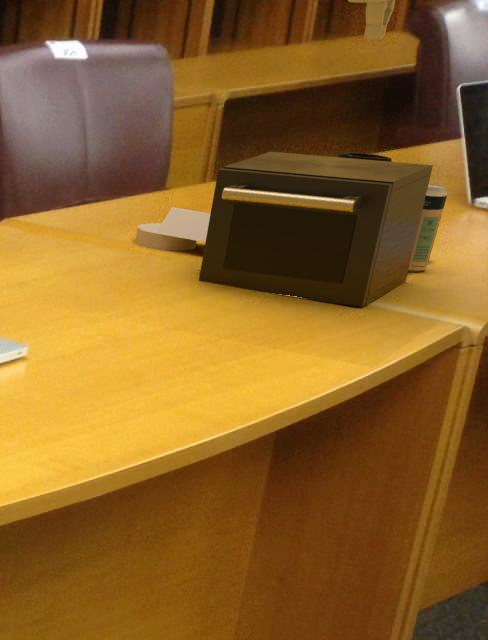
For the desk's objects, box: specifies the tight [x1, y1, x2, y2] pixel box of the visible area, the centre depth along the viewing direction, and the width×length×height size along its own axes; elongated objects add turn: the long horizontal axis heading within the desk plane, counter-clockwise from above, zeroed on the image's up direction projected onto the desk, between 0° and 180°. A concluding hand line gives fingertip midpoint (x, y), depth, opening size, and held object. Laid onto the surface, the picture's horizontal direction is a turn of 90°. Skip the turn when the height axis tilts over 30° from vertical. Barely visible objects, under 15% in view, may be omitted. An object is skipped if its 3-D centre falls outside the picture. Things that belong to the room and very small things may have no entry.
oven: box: [222, 151, 434, 307], centre depth 215 cm, size 20×22×16 cm
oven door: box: [198, 167, 393, 308], centre depth 206 cm, size 6×22×16 cm, turn 50°
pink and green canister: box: [408, 183, 448, 273], centre depth 223 cm, size 5×5×12 cm
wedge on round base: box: [134, 206, 211, 251], centre depth 236 cm, size 9×7×13 cm
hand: (373, 39), depth 197 cm, fingers closed
